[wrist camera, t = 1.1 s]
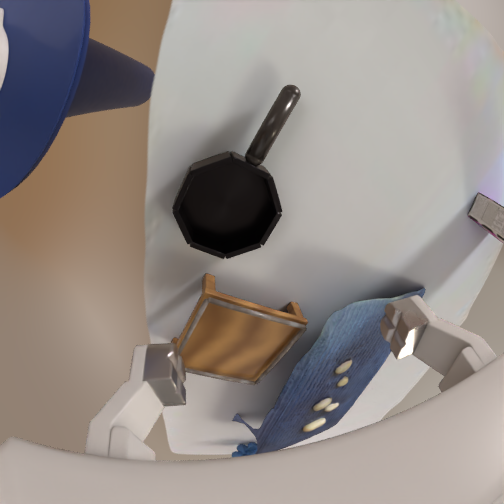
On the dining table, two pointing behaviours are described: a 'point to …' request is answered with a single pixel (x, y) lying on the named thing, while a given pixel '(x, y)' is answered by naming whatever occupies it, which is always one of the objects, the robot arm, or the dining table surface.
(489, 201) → the candy bar box
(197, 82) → the dining table surface
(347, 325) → the blue piece
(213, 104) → the dining table surface
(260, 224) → the pan
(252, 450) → the grapes
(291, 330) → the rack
